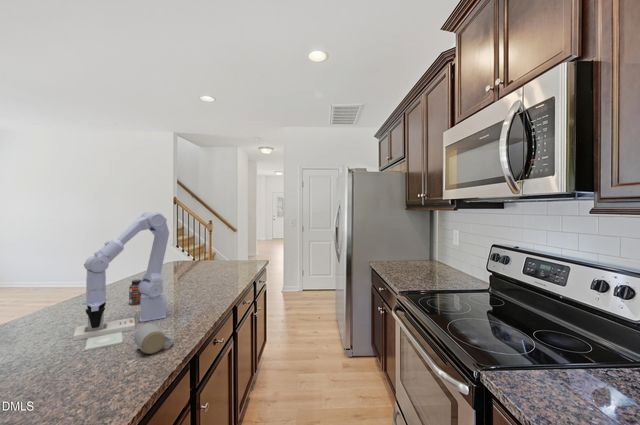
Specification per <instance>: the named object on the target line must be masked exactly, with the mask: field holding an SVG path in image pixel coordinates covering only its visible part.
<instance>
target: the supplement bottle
mask: <svg viewBox="0 0 640 425" xmlns="http://www.w3.org/2000/svg"><path fill="white" fill-rule="evenodd" d="M141 281H142V279H140V278H139V279H138V278H137V279H132V280H131V284H130V285H129V291H128V292H129V293H128V294H129V295H128V304H129V305H130V306H137V304H138V305H141V293H140V292H139V290H138V286H139V283H140V282H141Z"/></svg>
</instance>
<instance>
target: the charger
mask: <svg viewBox="0 0 640 425" xmlns="http://www.w3.org/2000/svg"><path fill="white" fill-rule="evenodd" d="M104 322H105V311H104V312H103V314H102V317H101V322H100V326H99V327H97V328H92V327H91V323H90V319H89V316H88V315H87V325H88V331H87V332H89V331H95V330H101V329H105V328H104Z"/></svg>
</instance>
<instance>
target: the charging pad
mask: <svg viewBox="0 0 640 425" xmlns="http://www.w3.org/2000/svg"><path fill="white" fill-rule="evenodd" d="M86 339H87V340H86V343H85V347H84V352H87V351H88V352H89V351H93V350H98V349H103V348H108V347H113V346H118V345H122V344H123V332H119V333H113V334H108V335H102V336H97V337H91V338H86Z"/></svg>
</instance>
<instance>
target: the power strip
mask: <svg viewBox="0 0 640 425" xmlns="http://www.w3.org/2000/svg"><path fill="white" fill-rule="evenodd" d="M135 330H136V323H135V317H129V318H123V319H116V320H111V321H104V329H101V330H95V331H89V332H88V324H84V325H80V326H76V327H75V330H74V334H73V335H72V336H73V337H72V338H73V341H79V340H84V339H88V338H92V337H98V336H103V335H109V334H114V333H120V332H122V333H123V332H129V331H135Z"/></svg>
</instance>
